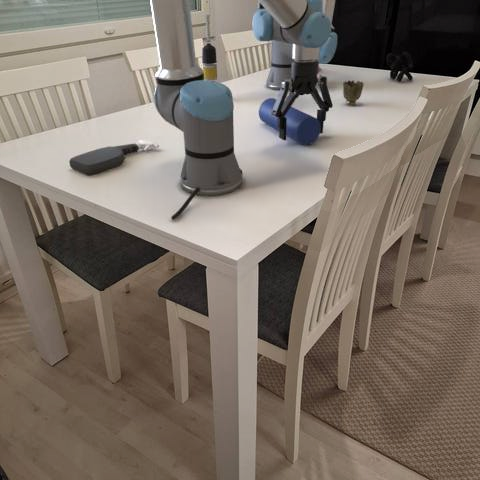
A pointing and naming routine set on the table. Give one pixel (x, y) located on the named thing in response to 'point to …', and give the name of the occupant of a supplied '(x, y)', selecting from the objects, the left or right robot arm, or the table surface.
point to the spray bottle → (106, 157)
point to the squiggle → (399, 66)
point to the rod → (292, 123)
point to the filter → (209, 57)
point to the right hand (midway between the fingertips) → (280, 21)
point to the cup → (352, 91)
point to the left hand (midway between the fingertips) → (301, 135)
